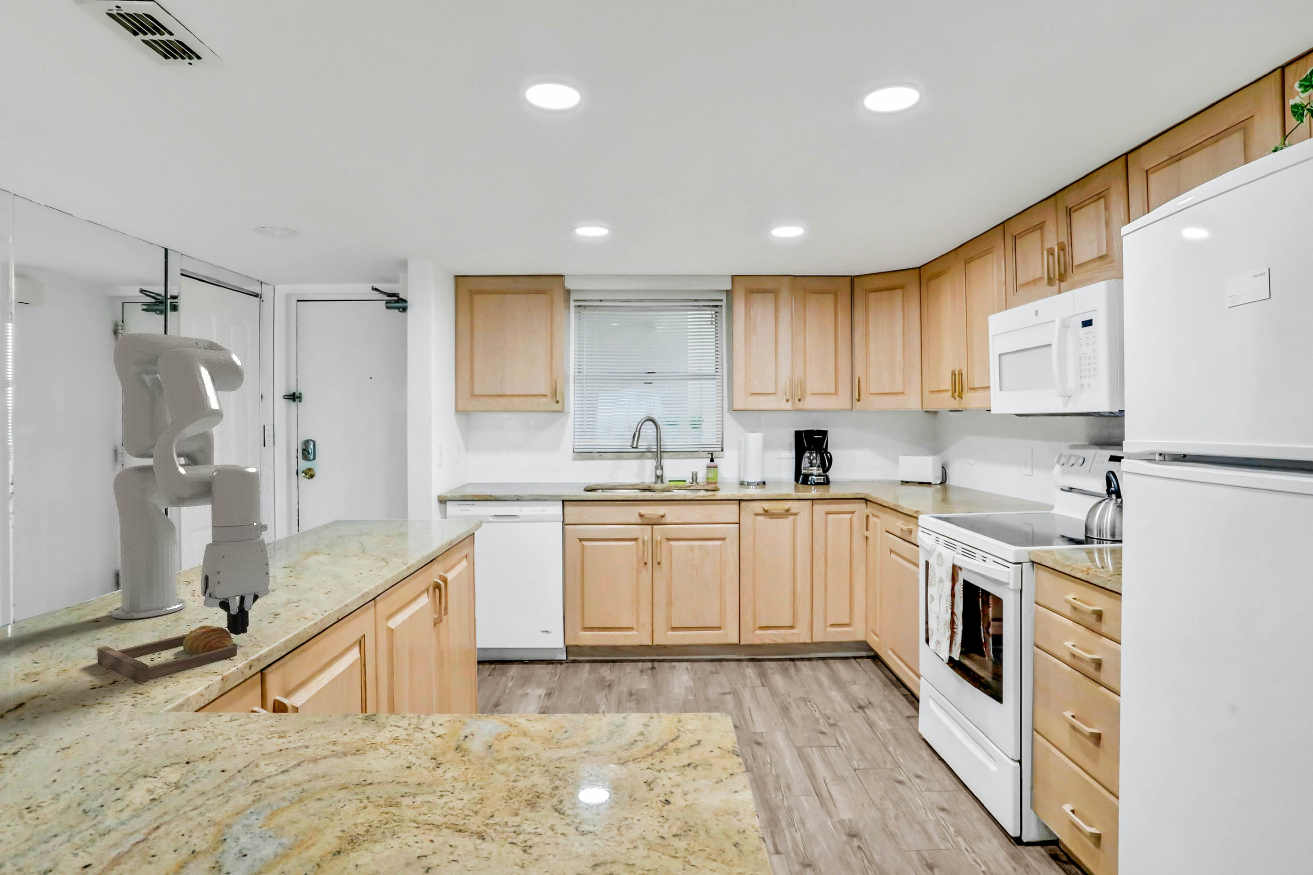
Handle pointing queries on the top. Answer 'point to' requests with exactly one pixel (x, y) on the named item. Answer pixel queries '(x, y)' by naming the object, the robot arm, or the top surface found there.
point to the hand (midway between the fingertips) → (238, 632)
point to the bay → (142, 673)
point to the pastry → (206, 639)
